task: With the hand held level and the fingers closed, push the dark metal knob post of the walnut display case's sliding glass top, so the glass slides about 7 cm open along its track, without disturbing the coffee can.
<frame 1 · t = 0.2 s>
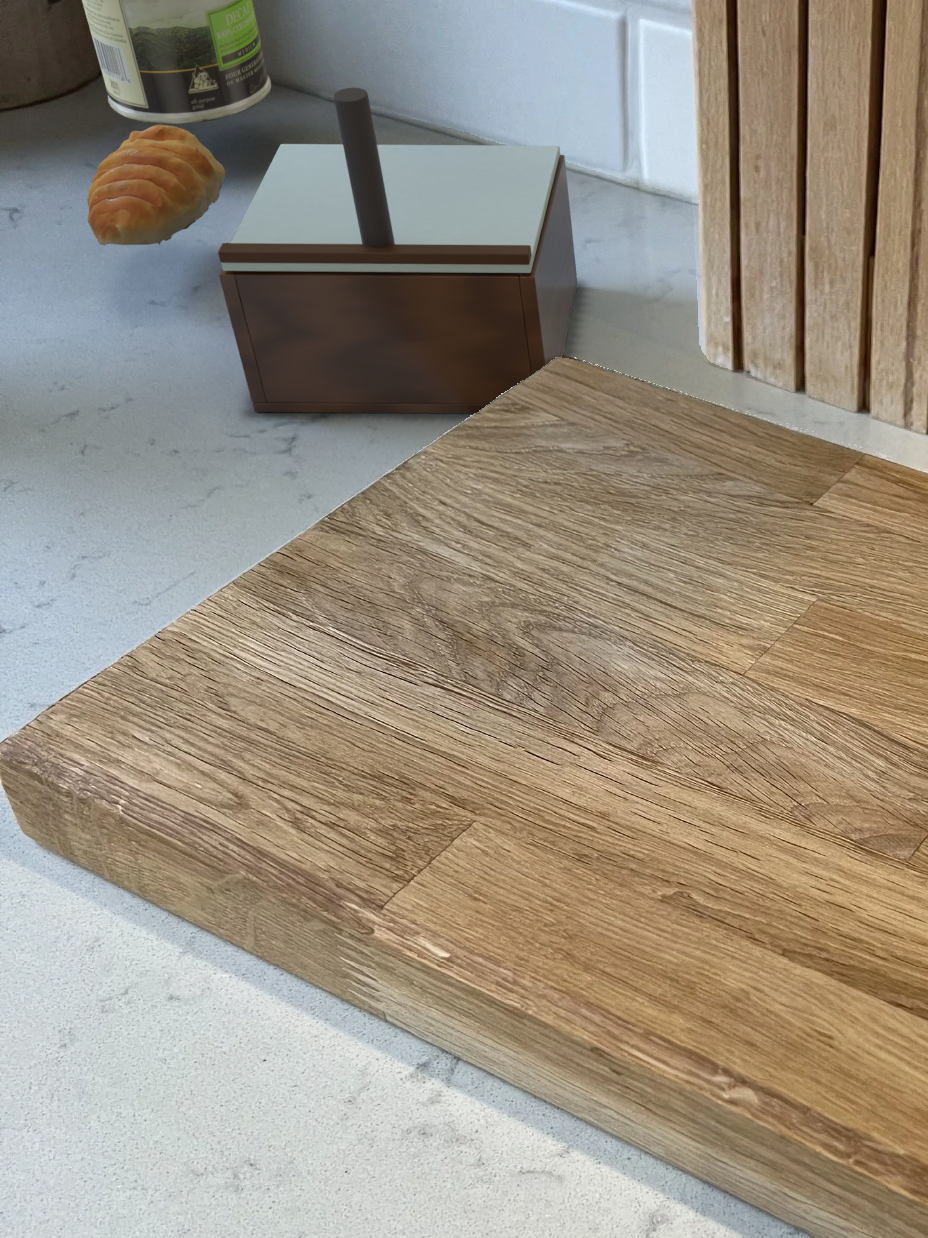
display case: (424, 345, 99), on the countertop
glass door: (386, 131, 90), point 12 cm above the countertop, slide at 0.0 cm
coffee can: (191, 96, 113), point 4 cm above the countertop
pastry: (161, 216, 102), point 4 cm above the countertop
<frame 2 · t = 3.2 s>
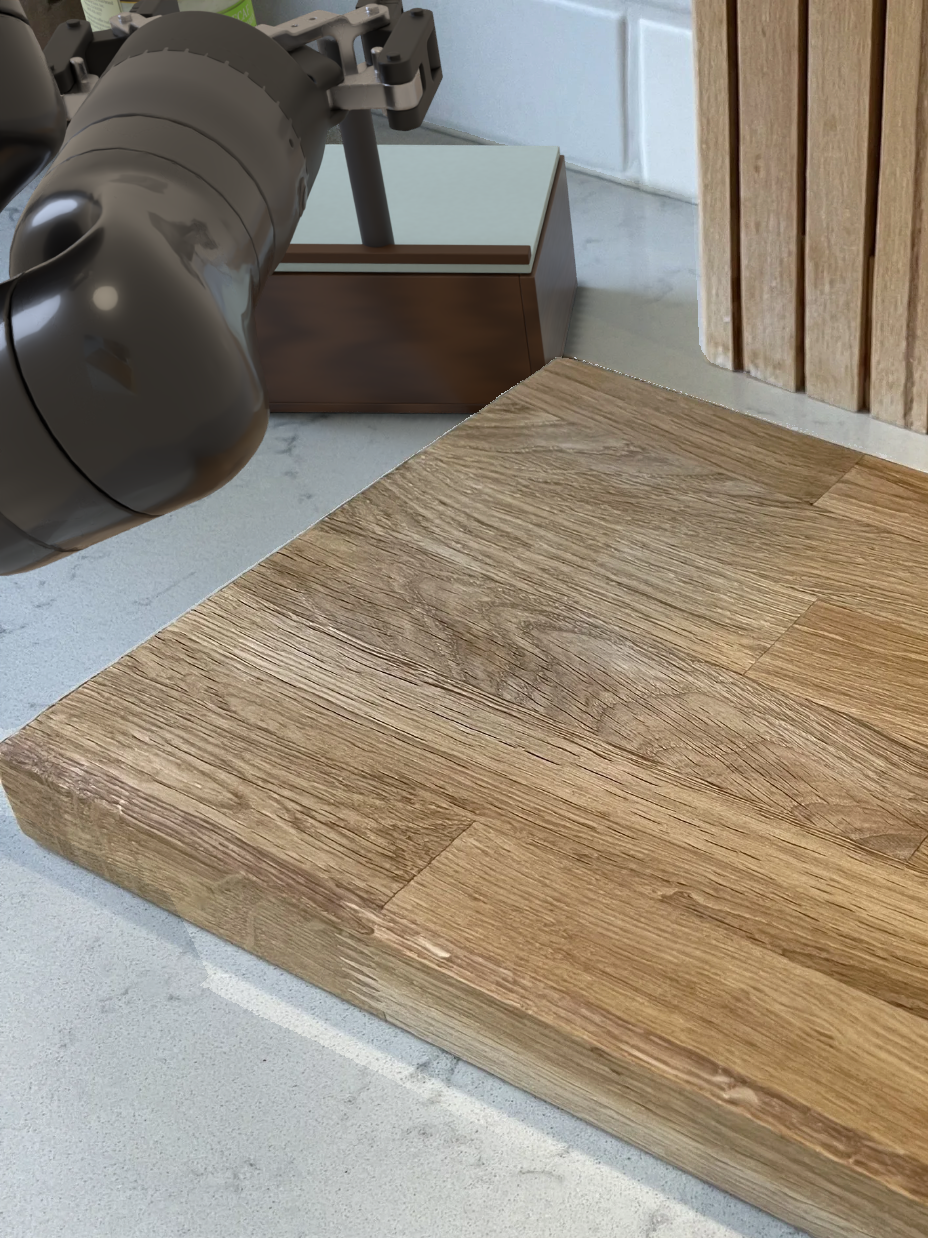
hand: (276, 8, 71), 24 cm above the countertop, tool horizontal, fingers open, 8 cm apart
nothing on the countertop moved.
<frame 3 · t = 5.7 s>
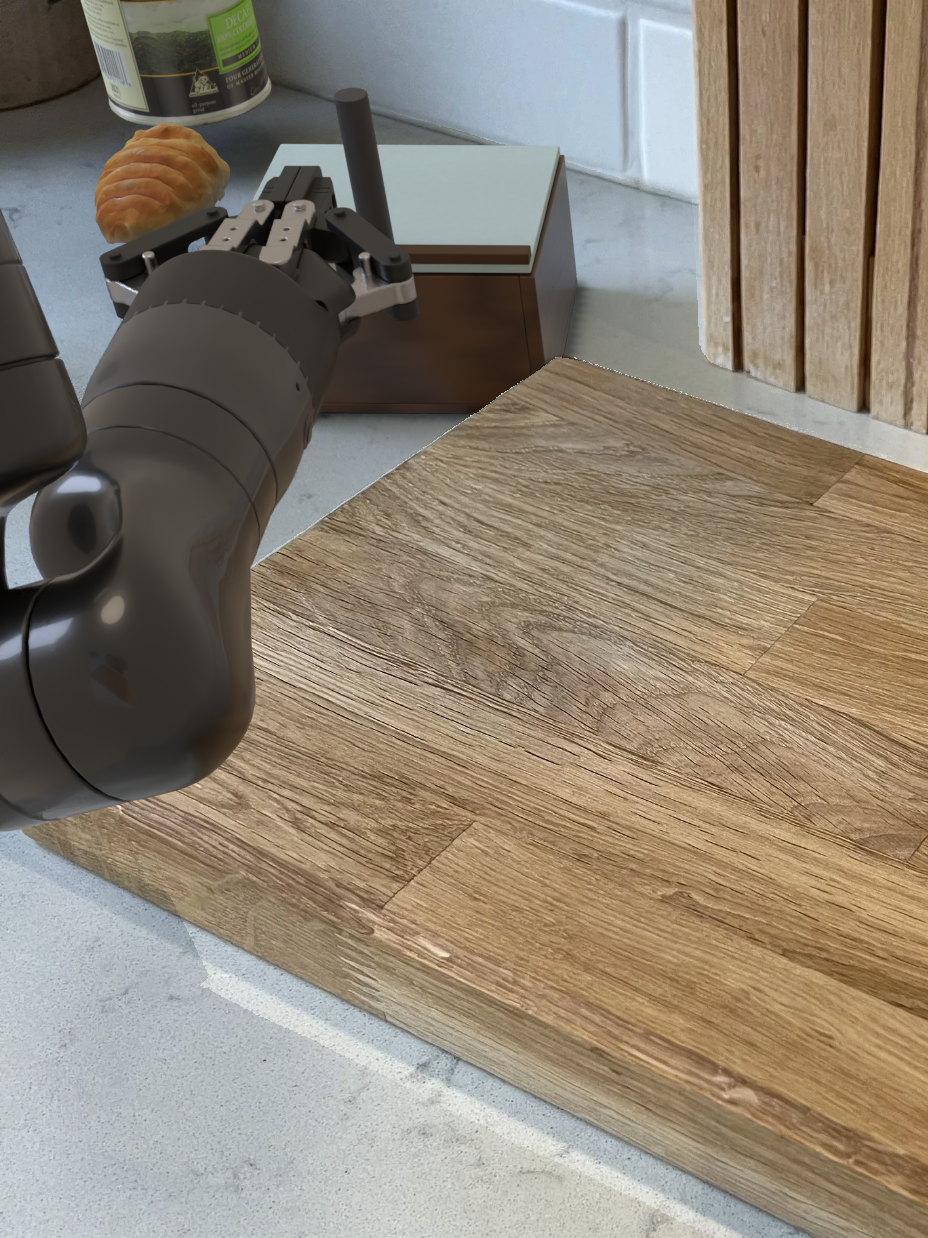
hand: (307, 186, 76), 17 cm above the countertop, tool horizontal, fingers closed
nothing on the countertop moved.
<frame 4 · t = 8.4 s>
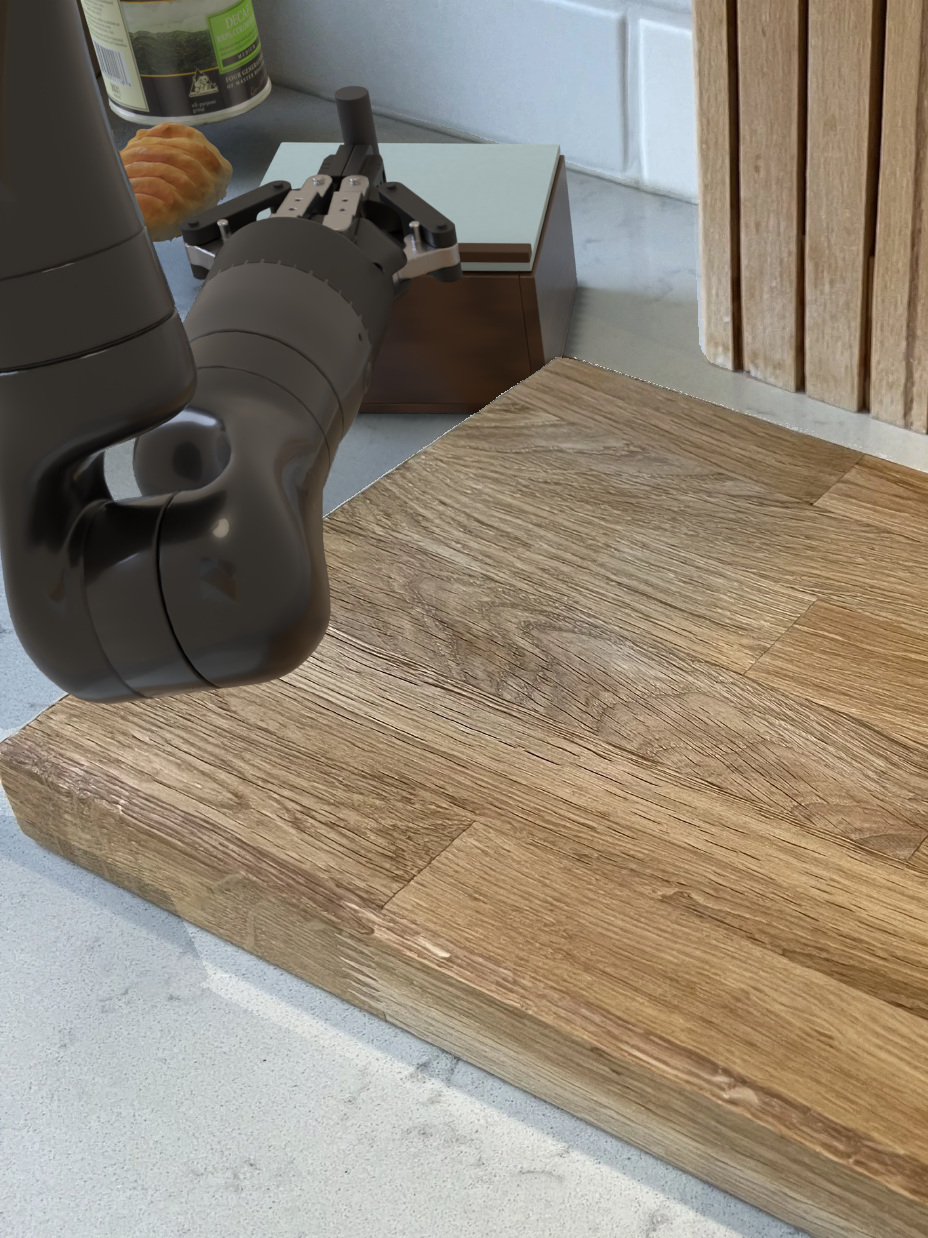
hand: (359, 163, 85), 13 cm above the countertop, tool horizontal, fingers closed
glass door: (387, 130, 90), point 12 cm above the countertop, slide at 0.2 cm, touching gripper
everything else where it was.
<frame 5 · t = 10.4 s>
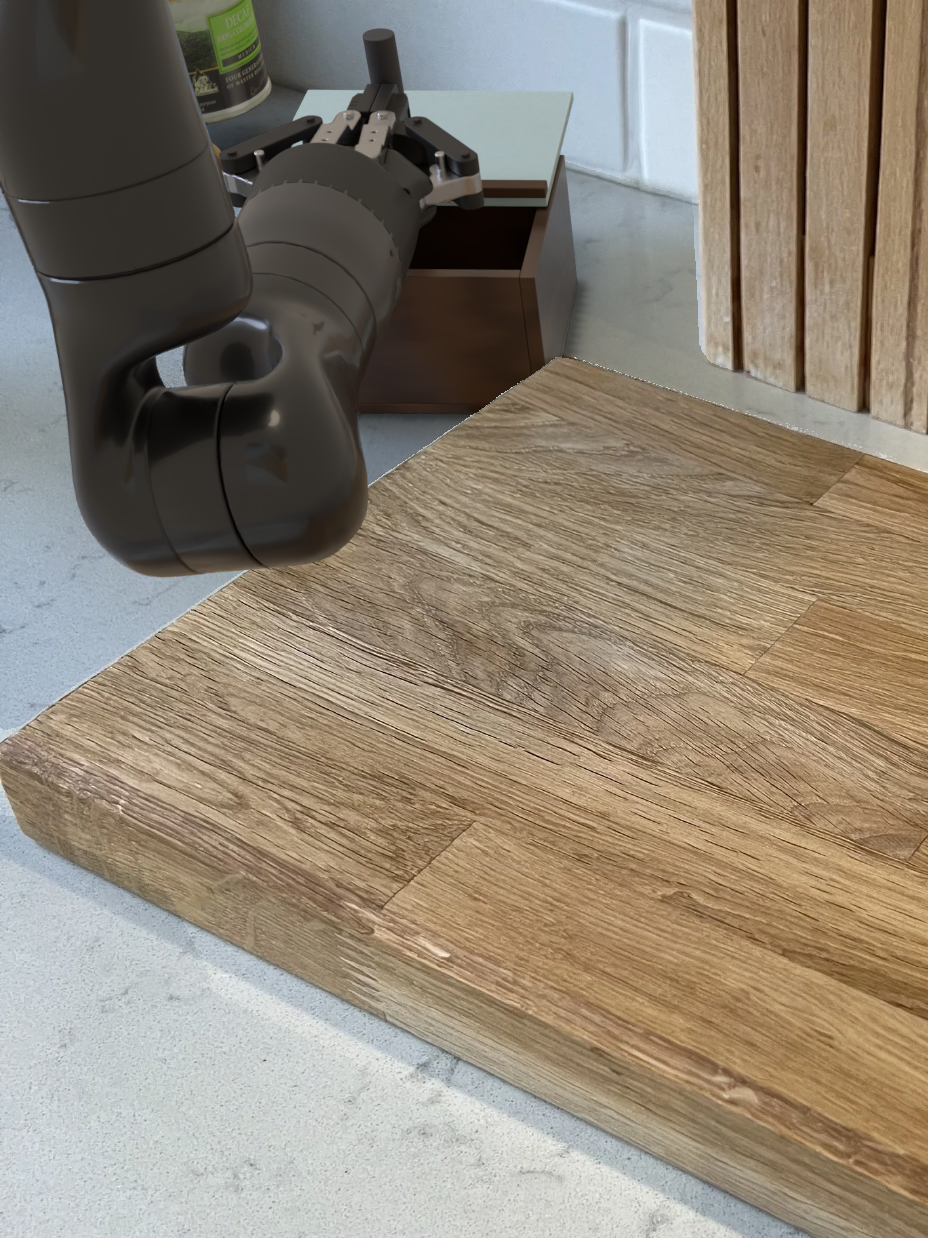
hand: (385, 102, 90), 13 cm above the countertop, tool horizontal, fingers closed
glass door: (410, 74, 95), point 12 cm above the countertop, slide at 7.2 cm, touching gripper
everything else where it was.
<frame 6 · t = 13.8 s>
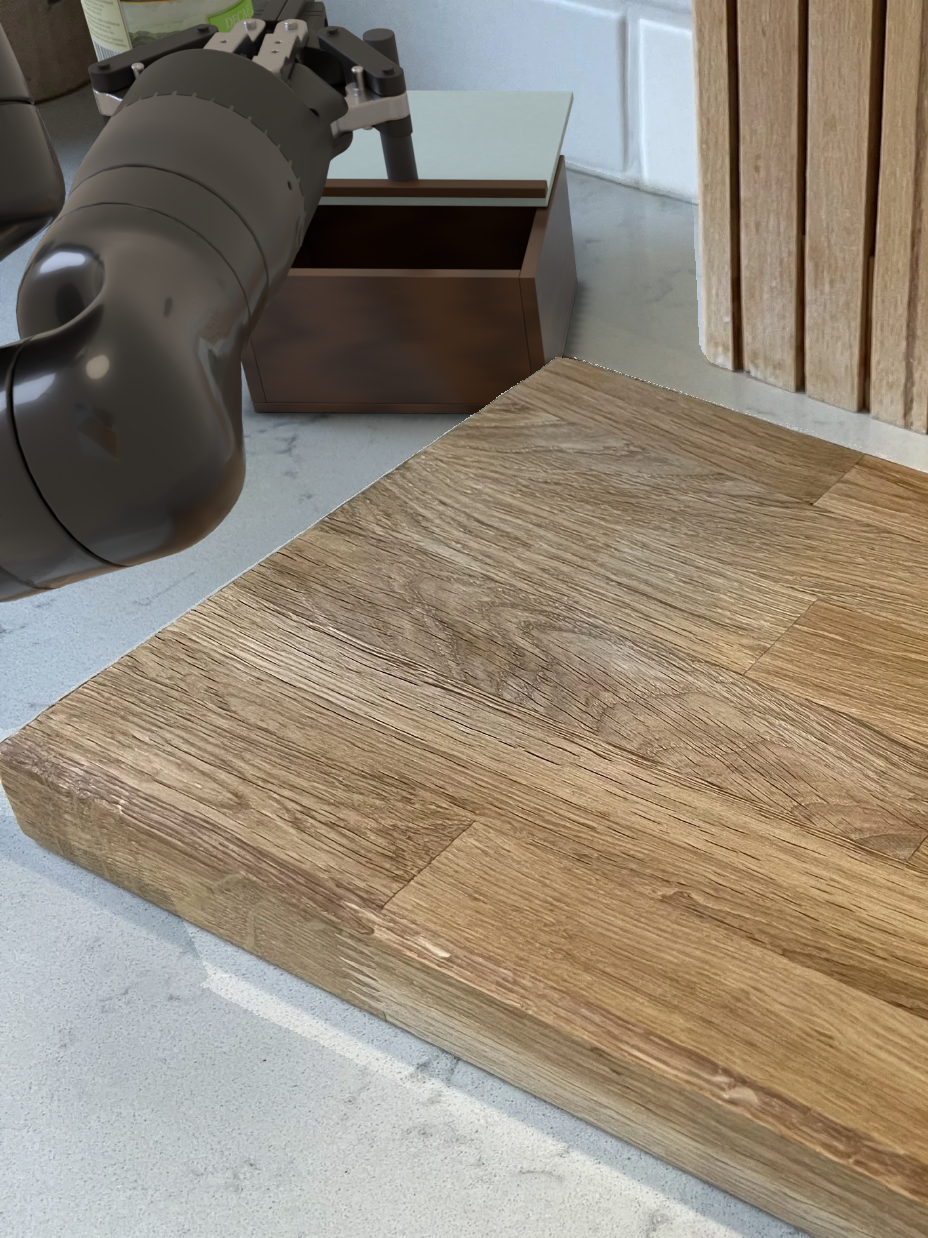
hand: (299, 12, 75), 22 cm above the countertop, tool horizontal, fingers closed
glass door: (410, 74, 95), point 12 cm above the countertop, slide at 7.3 cm
everything else where it was.
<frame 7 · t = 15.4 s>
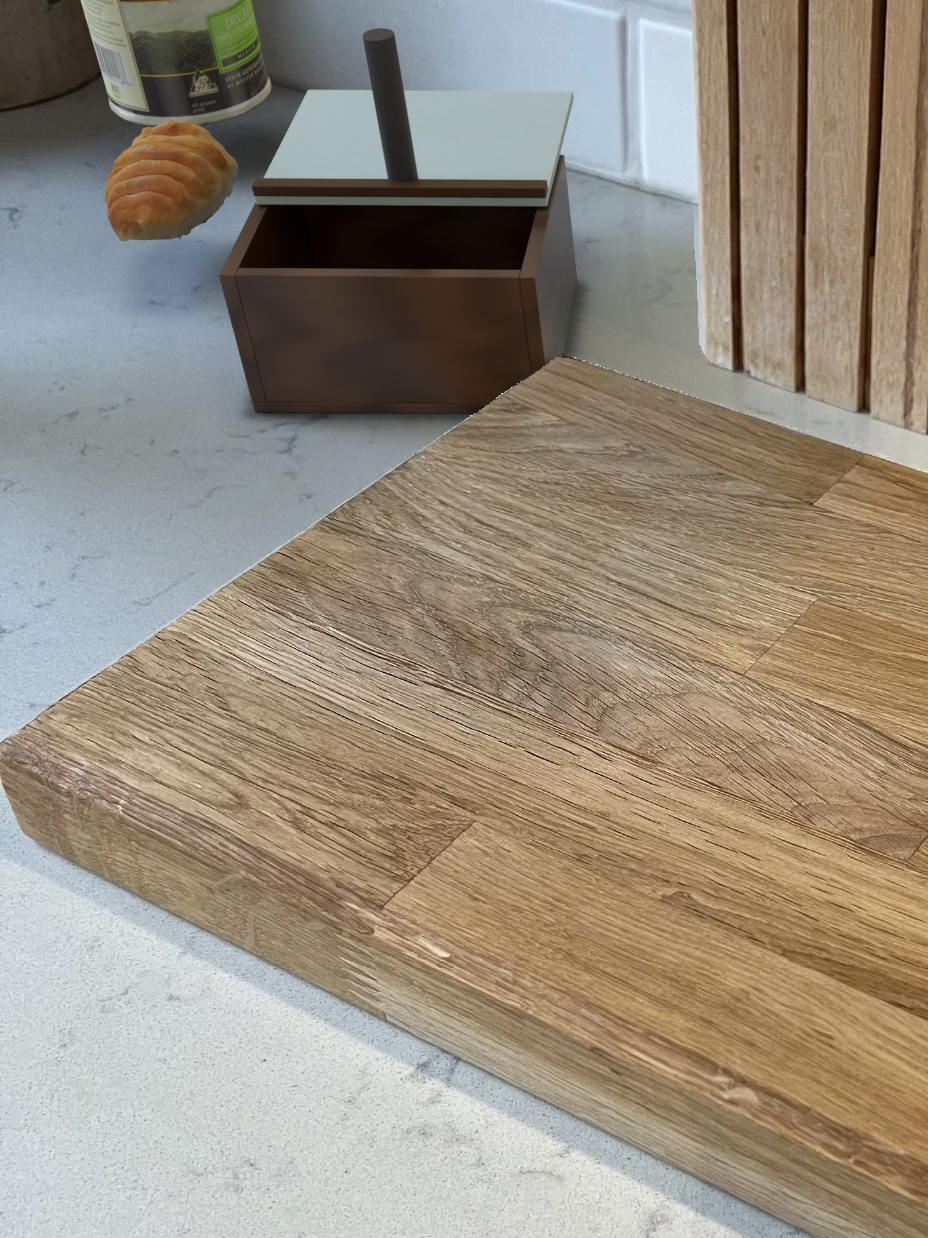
nothing on the countertop moved.
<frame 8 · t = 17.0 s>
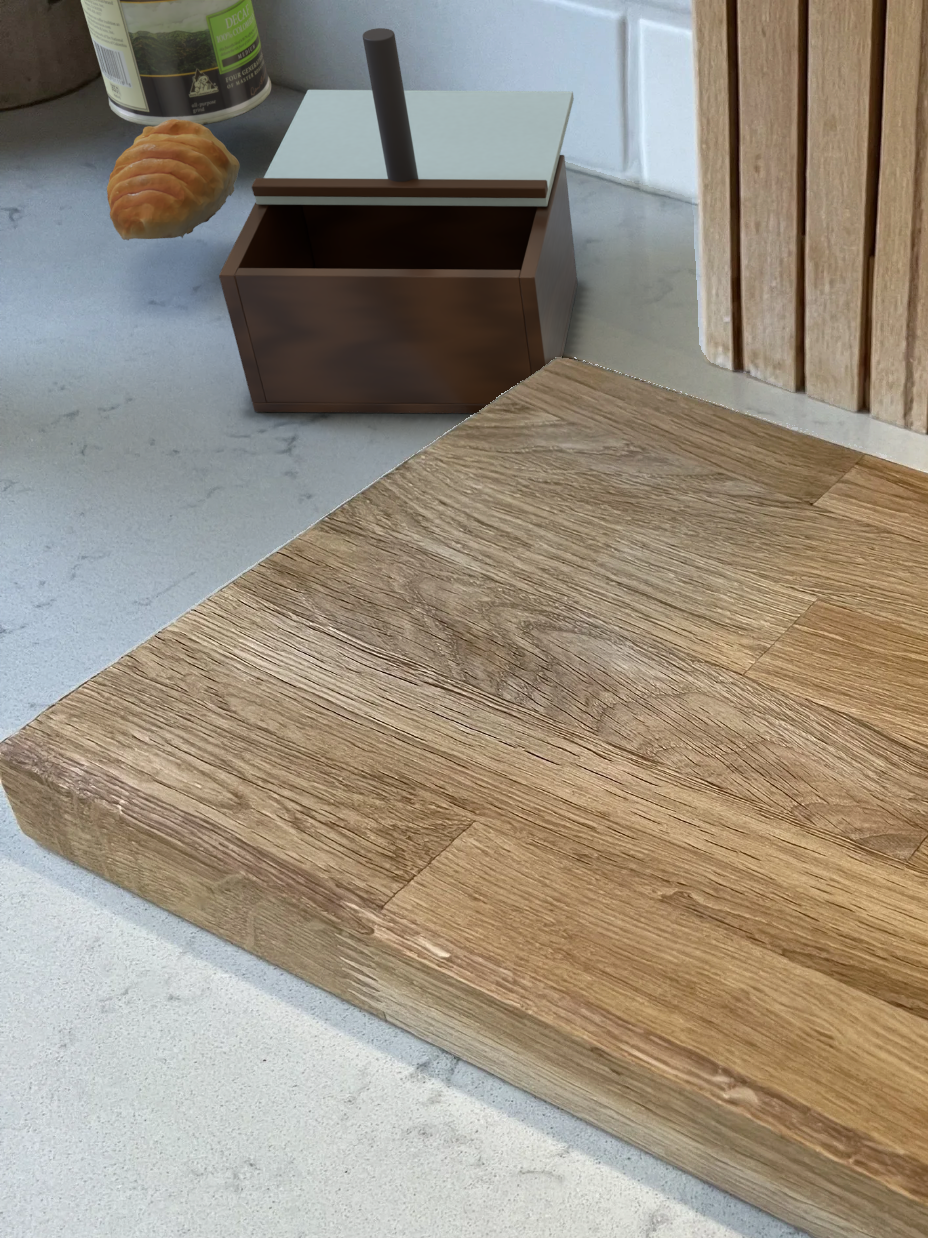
at the end: glass door slide at 7.3 cm; coffee can moved 0.5 cm from its start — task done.
